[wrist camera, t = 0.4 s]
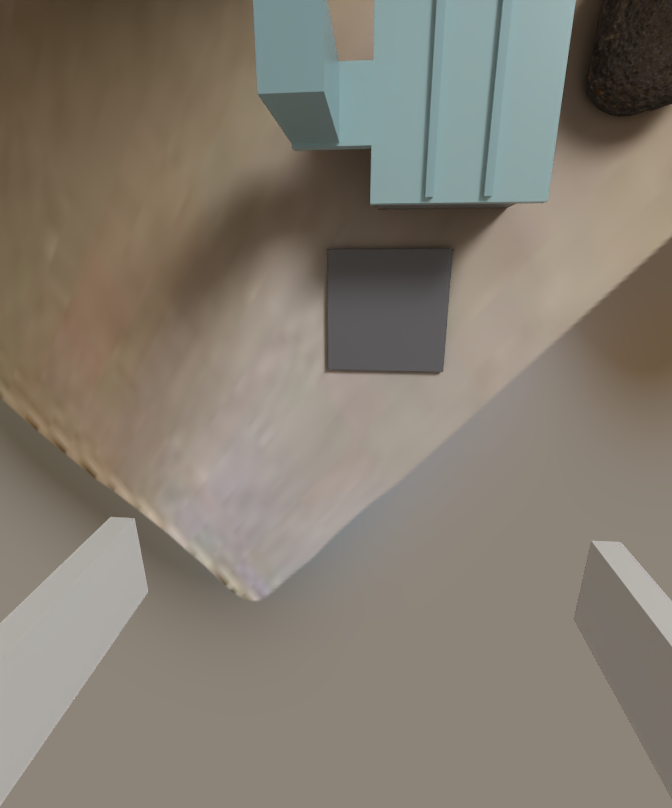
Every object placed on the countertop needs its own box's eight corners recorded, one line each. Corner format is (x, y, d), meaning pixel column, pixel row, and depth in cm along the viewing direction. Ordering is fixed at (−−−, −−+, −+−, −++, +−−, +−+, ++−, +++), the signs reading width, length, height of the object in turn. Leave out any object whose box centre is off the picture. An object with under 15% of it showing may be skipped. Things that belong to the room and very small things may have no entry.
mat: (327, 249, 35) (327, 249, 34) (451, 249, 34) (452, 248, 33) (328, 368, 38) (328, 369, 37) (442, 370, 37) (443, 371, 36)
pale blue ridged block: (290, 2, 25) (246, -131, 17) (572, -13, 24) (679, -168, 15) (295, 206, 28) (261, 180, 20) (542, 203, 27) (617, 173, 19)
